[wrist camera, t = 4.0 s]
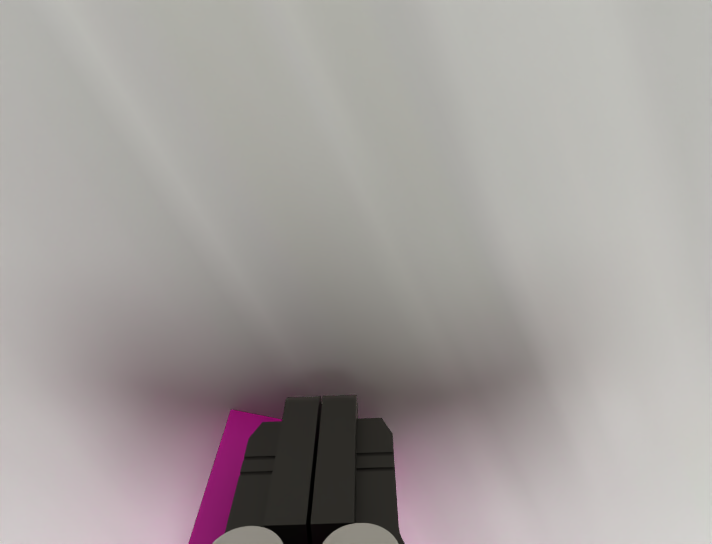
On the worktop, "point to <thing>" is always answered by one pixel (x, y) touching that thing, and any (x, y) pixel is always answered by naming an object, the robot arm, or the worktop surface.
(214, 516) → the magenta pipe clamp
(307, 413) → the robot arm
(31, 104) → the worktop surface
